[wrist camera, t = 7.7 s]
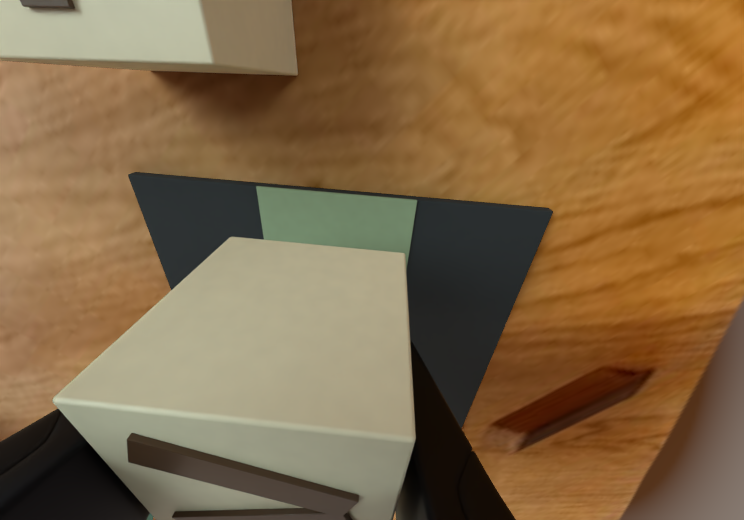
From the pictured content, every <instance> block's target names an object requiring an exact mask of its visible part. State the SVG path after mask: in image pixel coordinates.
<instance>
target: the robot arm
mask: <svg viewBox="0 0 744 520" xmlns="http://www.w3.org/2000/svg"><path fill="white" fill-rule="evenodd" d="M410 345H411V362H412V379H413V397H414V414H415V432H416V440H415V443H414V447H413V450H412V454H411V457H410V461H409V464H408V468H407V471H406V475H405V478H404V482H403V485H402V489H401V492H400V496H399V499H398V503H397V506H396V520H516V519H515V518H514V516H513V515H512V513H511V512H510V510H509V509H508V507H507V506H506V504H505V503H504V501H503V499H502V498H501V496H500V495H499V493H498V491H497V490H496V488H495V486H494V485H493V483H492V481H491V480H490V478H489V476H488V475H487V473H486V471H485V470H484V468H483V466H482V464H481V463H480V461H479V459H478V457H477V455H476V454H475V452H474V451H472V447H471V445H470V443H469V442H468V440H467V438H466V436H465V434H464V433H463V431H462V429H461V427H460V426H459V424H458V422H457V420H456V418H455V417H454V415H453V413H452V411H451V410H450V408H449V406H448V404H447V402H446V401H445V399H444V397H443V395H442V394H441V392H440V390H439V388H438V386H437V385H436V383H435V381H434V379H433V378H432V376H431V374H430V372H429V371H428V369H427V367H426V365H425V363H424V362H423V360H422V358H421V356H420V355H419V353H418V351H417V349H416V347H415V346H414V344H413V342H412V340H411V339H410ZM471 451H472V452H471ZM149 514H150V512H149V511H148V510H147V509H146V508H145V507H144V505H143V504H142V503H141V502H140V501H139V500H138V499H137V498H136V496H135V495H134V494H133V493H132V492H131V491H130V490H129V488H128V487H127V486H126V485H125V484H124V483H123V482H122V480H121V479H120V478H119V477H118V476H117V475H116V474H115V472H114V471H113V470H112V469H111V468H110V467H109V466H108V464H107V463H106V462H105V461H104V460H103V459H102V458H101V457H100V455H99V454H98V453H97V452H96V451H95V450H94V449H93V447H92V446H91V445H90V444H89V443H88V442H87V441H86V439H85V438H84V437H83V436H82V435H81V434H80V433H79V431H78V430H77V429H76V428H75V427H74V426H73V425H72V424H71V422H70V421H69V420H68V419H67V418H66V417H65V416H64V414H63V413H62V412H61V411H60V410H59V409H56V410H55V411H53V412H51V413H50V414H48V415H46V416H44V417H43V418H41V419H39V420H38V421H36V422H34V423H32V424H31V425H29V426H27V427H25V428H24V429H22V430H20V431H19V432H17V433H15V434H13V435H12V436H10V437H8V438H6V439H5V440H3V441H1V442H0V520H146V519H147V518H148V516H149Z"/></svg>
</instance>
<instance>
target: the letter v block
mask: <svg viewBox="0 0 744 520" xmlns="http://www.w3.org/2000/svg"><path fill="white" fill-rule="evenodd" d="M53 403H54V404H55V405H56V406H57V408H58V409H59V410H60V411H61V412H62V413H63V414H64V416H65V417H66V418H67V419H68V420H69V421H70V422H71V424H72V425H73V426H74V427H75V428H76V429H77V430H78V431H79V433H80V434H81V435H82V436H83V437H84V438H85V439H86V441H87V442H88V443H89V444H90V445H91V446H92V447H93V449H94V450H95V451H96V452H97V453H98V454H99V455H100V457H101V458H102V459H103V460H104V461H105V462H106V463H107V464H108V466H109V467H110V468H111V469H112V470H113V471H114V472H115V474H116V475H117V476H118V477H119V478H120V479H121V480H122V482H123V483H124V484H125V485H126V486H127V487H128V488H129V490H130V491H131V492H132V493H133V494H134V495H135V496H136V498H137V499H138V500H139V501H140V502H141V503H142V504H143V505H144V507H145V508H146V509H147V510H148V511H149V512H150V513H151V515H152V516H153V517H154V518H155V519H156V520H393V517H394V513H395V510H396V506H397V503H398V499H399V496H400V492H401V489H402V485H403V482H404V478H405V475H406V471H407V468H408V464H409V461H410V457H411V454H412V450H413V447H414V443H415V440H416V432H415V414H414V397H413V379H412V362H411V345H410V327H409V310H408V292H407V275H406V258H405V254H404V253H399V252H388V251H378V250H367V249H357V248H346V247H336V246H325V245H315V244H304V243H294V242H283V241H273V240H262V239H252V238H241V237H230V238H229V239H227V240H226V241H225V242H224V243H223V244H222V245H221V246H220V247H219V248H218V249H216V250H215V251H214V252H213V253H212V254H211V255H210V256H209V257H208V258H207V259H205V260H204V261H203V262H202V263H201V264H200V265H199V266H198V267H197V268H196V269H194V270H193V271H192V272H191V273H190V274H189V275H188V276H187V277H186V278H185V279H183V280H182V281H181V282H180V283H179V284H178V285H177V286H176V287H175V288H173V289H172V290H171V291H170V292H169V293H168V294H167V295H166V296H165V297H164V298H162V299H161V300H160V301H159V302H158V303H157V304H156V305H155V306H154V307H153V308H151V309H150V310H149V311H148V312H147V313H146V314H145V315H144V316H143V317H142V318H140V319H139V320H138V321H137V322H136V323H135V324H134V325H133V326H132V327H131V328H129V329H128V330H127V331H126V332H125V333H124V334H123V335H122V336H121V337H120V338H118V339H117V340H116V341H115V342H114V343H113V344H112V345H111V346H110V347H109V348H107V349H106V350H105V351H104V352H103V353H102V354H101V355H100V356H99V357H97V358H96V359H95V360H94V361H93V362H92V363H91V364H90V365H89V366H88V367H86V368H85V369H84V370H83V371H82V372H81V373H80V374H79V375H78V376H77V377H75V378H74V379H73V380H72V381H71V382H70V383H69V384H68V385H67V386H66V387H64V388H63V389H62V390H61V391H60V392H59V393H58V394H57V395H56V396H55V397H54V398H53Z"/></svg>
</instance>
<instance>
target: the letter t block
mask: <svg viewBox="0 0 744 520" xmlns="http://www.w3.org/2000/svg"><path fill="white" fill-rule="evenodd" d="M0 61H13V62H28V63H43V64H58V65H72V66H87V67H102V68H117V69H132V70H146V71H174V72H204V73H234V74H264V75H294V76H296V75H298V69H297V58H296V47H295V35H294V24H293V13H292V1H291V0H0Z"/></svg>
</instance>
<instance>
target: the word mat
mask: <svg viewBox="0 0 744 520" xmlns="http://www.w3.org/2000/svg"><path fill="white" fill-rule="evenodd" d="M128 176H129V179H130V182H131V184H132V187H133V190H134V192H135V195H136V198H137V200H138V203H139V206H140V208H141V211H142V213H143V216H144V219H145V221H146V224H147V227H148V229H149V232H150V235H151V237H152V240H153V243H154V245H155V248H156V251H157V253H158V256H159V259H160V261H161V264H162V266H163V269H164V272H165V274H166V277H167V280H168V282H169V285H170V288H171V290H172V289H173V288H175V287H176V286H177V285H178V284H179V283H180V282H181V281H182V280H183V279H185V278H186V277H187V276H188V275H189V274H190V273H191V272H192V271H193V270H194V269H196V268H197V267H198V266H199V265H200V264H201V263H202V262H203V261H204V260H205V259H207V258H208V257H209V256H210V255H211V254H212V253H213V252H214V251H215V250H216V249H218V248H219V247H220V246H221V245H222V244H223V243H224V242H225V241H226V240H227V239H229V238H230V237H241V238H252V239H262V240H273V241H283V242H294V243H304V244H315V245H325V246H336V247H346V248H357V249H367V250H378V251H388V252H399V253H404V254H405V258H406V275H407V292H408V310H409V327H410V339H411V340H412V342H413V344H414V346H415V347H416V349H417V351H418V353H419V355H420V356H421V358H422V360H423V362H424V363H425V365H426V367H427V369H428V371H429V372H430V374H431V376H432V378H433V379H434V381H435V383H436V385H437V386H438V388H439V390H440V392H441V394H442V395H443V397H444V399H445V401H446V402H447V404H448V406H449V408H450V410H451V411H452V413H453V415H454V417H455V418H456V420H457V422H458V424H459V426H460V427H461V428H462V426H463V424H464V421H465V419H466V416H467V414H468V412H469V409H470V407H471V405H472V402H473V400H474V398H475V395H476V393H477V390H478V388H479V386H480V383H481V381H482V379H483V376H484V374H485V372H486V369H487V367H488V364H489V362H490V360H491V357H492V355H493V353H494V350H495V348H496V346H497V343H498V341H499V338H500V336H501V334H502V331H503V329H504V327H505V324H506V322H507V320H508V317H509V315H510V312H511V310H512V308H513V305H514V303H515V301H516V298H517V296H518V294H519V291H520V289H521V286H522V284H523V282H524V279H525V277H526V275H527V272H528V270H529V268H530V265H531V263H532V260H533V258H534V256H535V253H536V251H537V249H538V246H539V244H540V242H541V239H542V237H543V234H544V232H545V230H546V227H547V225H548V223H549V220H550V218H551V216H552V213H553V211H551V210H550V209H549V208H542V207H531V206H519V205H508V204H496V203H485V202H473V201H462V200H450V199H439V198H427V197H416V196H404V195H393V194H381V193H370V192H358V191H347V190H335V189H324V188H312V187H301V186H289V185H278V184H266V183H255V182H243V181H232V180H220V179H209V178H197V177H186V176H174V175H163V174H151V173H140V172H134V173H131V174H129V175H128Z"/></svg>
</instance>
